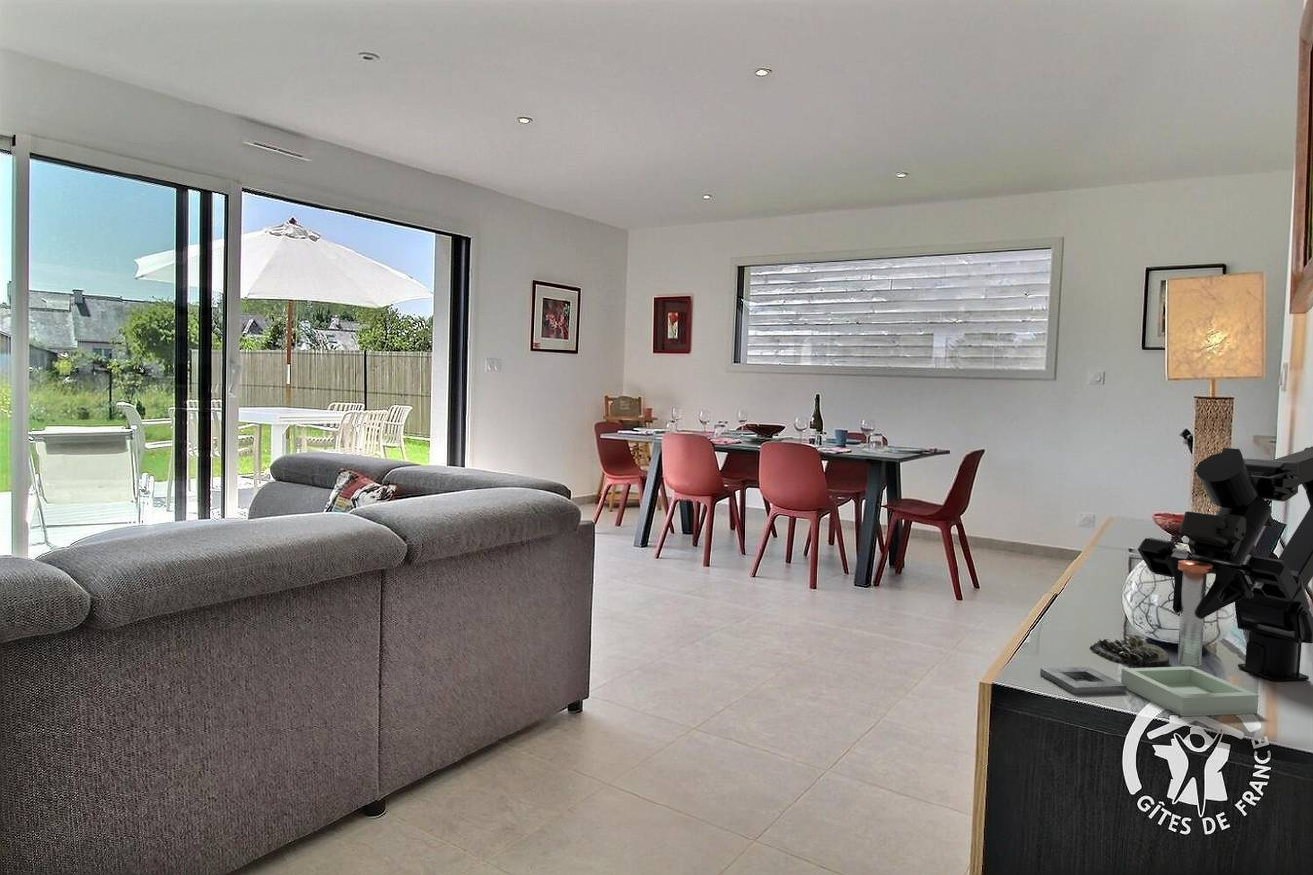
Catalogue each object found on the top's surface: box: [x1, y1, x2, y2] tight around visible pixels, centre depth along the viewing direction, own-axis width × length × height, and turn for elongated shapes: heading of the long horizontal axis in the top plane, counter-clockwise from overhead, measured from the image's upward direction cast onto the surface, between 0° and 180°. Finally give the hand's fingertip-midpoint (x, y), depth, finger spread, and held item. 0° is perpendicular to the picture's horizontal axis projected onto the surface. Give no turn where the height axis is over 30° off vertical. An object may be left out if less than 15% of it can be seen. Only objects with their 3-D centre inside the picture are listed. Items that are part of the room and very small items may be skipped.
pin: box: [1176, 560, 1213, 667], centre depth 116 cm, size 4×4×14 cm
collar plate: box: [1039, 666, 1127, 695], centre depth 122 cm, size 8×8×1 cm
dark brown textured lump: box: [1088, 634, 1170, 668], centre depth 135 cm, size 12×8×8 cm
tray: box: [1120, 665, 1260, 718], centre depth 116 cm, size 11×11×2 cm
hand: (1186, 613), depth 115 cm, fingers closed on pin, 3 cm apart
